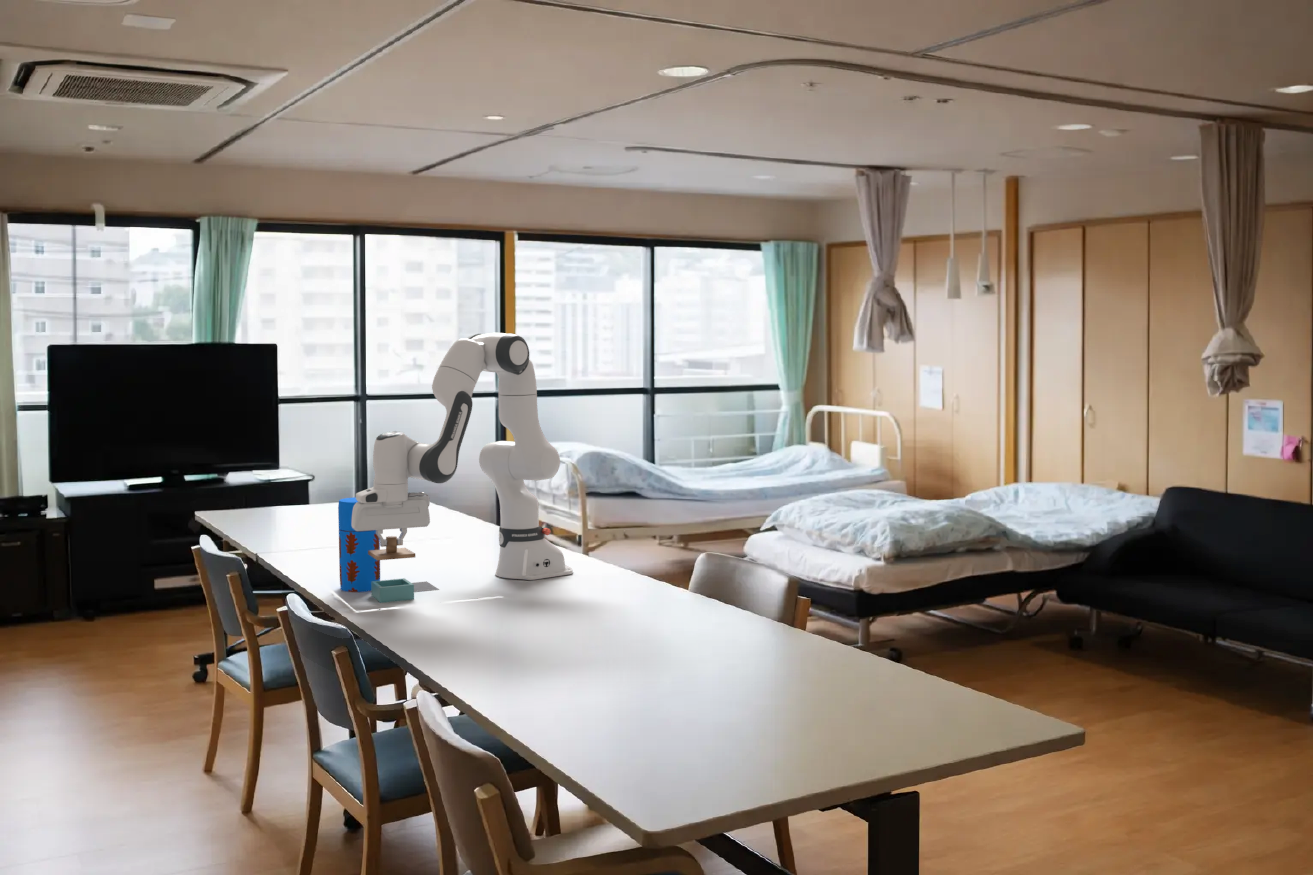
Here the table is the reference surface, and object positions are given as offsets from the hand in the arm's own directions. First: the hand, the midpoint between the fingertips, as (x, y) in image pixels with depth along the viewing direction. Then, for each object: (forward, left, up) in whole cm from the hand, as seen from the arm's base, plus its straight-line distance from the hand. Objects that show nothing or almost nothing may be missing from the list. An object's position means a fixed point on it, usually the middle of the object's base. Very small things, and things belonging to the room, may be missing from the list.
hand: (391, 545), depth 315 cm
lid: (0, 0, -3) cm, 3 cm away
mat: (-8, -10, -15) cm, 19 cm away
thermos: (+5, -16, -15) cm, 22 cm away
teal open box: (0, 0, -15) cm, 15 cm away
